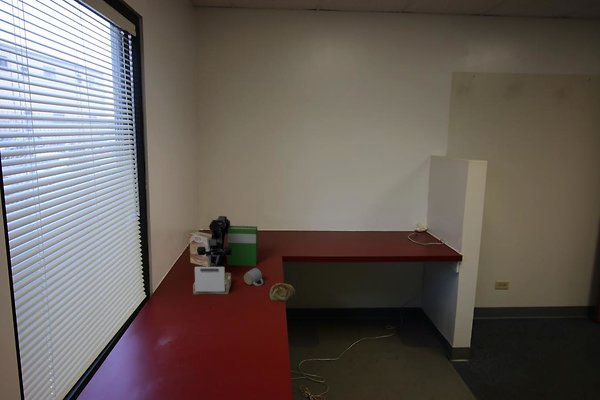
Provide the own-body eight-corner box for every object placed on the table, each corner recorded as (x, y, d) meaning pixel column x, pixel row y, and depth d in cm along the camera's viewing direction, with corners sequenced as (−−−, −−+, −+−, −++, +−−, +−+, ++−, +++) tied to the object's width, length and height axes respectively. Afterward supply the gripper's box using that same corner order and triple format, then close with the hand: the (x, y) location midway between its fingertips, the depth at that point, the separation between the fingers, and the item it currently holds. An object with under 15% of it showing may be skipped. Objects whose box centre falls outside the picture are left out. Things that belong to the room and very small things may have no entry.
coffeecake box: (190, 262, 235) (189, 233, 231) (197, 259, 241) (197, 231, 238) (207, 267, 228) (207, 237, 225) (215, 263, 235) (214, 234, 231)
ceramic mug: (242, 283, 206) (242, 270, 204) (252, 278, 212) (252, 266, 211) (257, 288, 200) (257, 275, 199) (266, 283, 207) (266, 270, 205)
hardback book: (257, 261, 240) (257, 226, 235) (255, 265, 233) (255, 229, 228) (230, 261, 240) (230, 225, 235) (228, 265, 233) (227, 228, 228)
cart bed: (198, 283, 204) (198, 272, 203) (231, 283, 205) (230, 272, 204) (193, 294, 191) (192, 282, 190) (227, 294, 192) (227, 282, 191)
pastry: (271, 303, 184) (272, 288, 182) (267, 292, 195) (267, 278, 194) (298, 300, 188) (299, 285, 186) (292, 290, 199) (292, 276, 198)
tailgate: (195, 290, 191) (195, 266, 188) (224, 290, 191) (224, 266, 189) (195, 291, 189) (194, 268, 186) (224, 291, 190) (223, 268, 187)
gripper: (197, 232, 200) (193, 258, 191) (231, 232, 201) (229, 259, 192) (200, 242, 209) (196, 267, 200) (233, 242, 210) (231, 267, 201)
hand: (213, 265), depth 198 cm, fingers open, 3 cm apart
